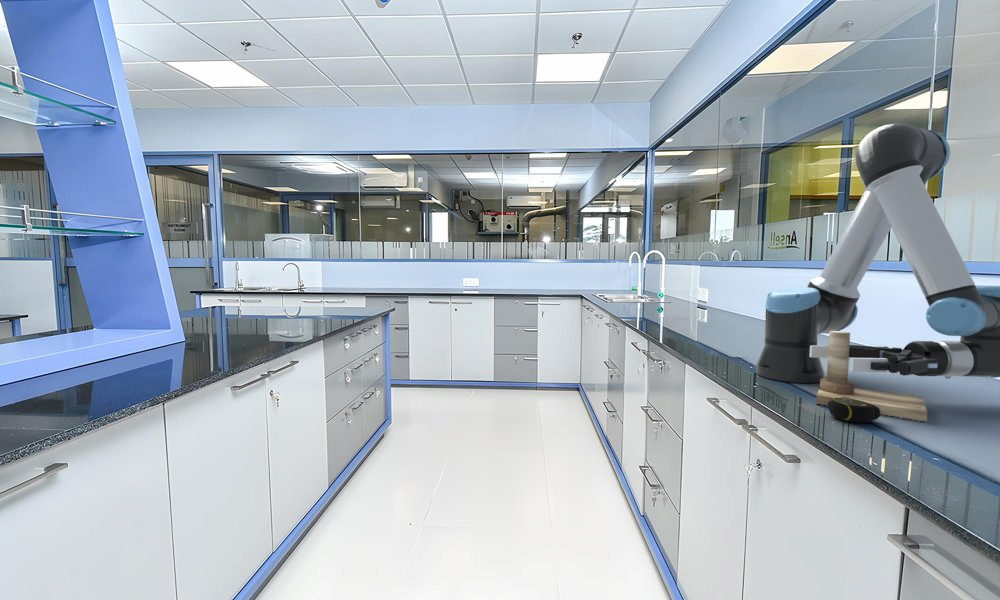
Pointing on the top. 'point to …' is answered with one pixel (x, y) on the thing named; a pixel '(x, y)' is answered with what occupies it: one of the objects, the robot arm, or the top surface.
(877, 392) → the board
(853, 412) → the tape measure
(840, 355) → the wooden peg with base
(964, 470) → the top surface
